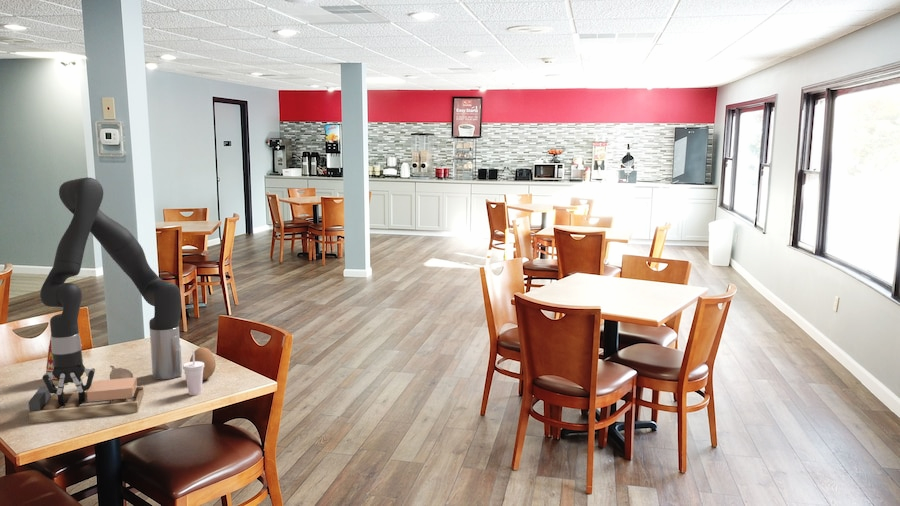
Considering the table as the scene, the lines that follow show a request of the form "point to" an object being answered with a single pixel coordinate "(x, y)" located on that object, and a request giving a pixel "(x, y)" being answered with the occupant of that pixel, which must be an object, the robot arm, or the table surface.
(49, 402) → the roller
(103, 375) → the table surface
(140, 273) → the robot arm
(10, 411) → the table surface
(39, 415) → the track
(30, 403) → the stop block
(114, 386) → the slab
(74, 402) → the roller
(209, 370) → the egg
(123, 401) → the roller
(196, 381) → the smoothie
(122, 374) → the garlic bulb
